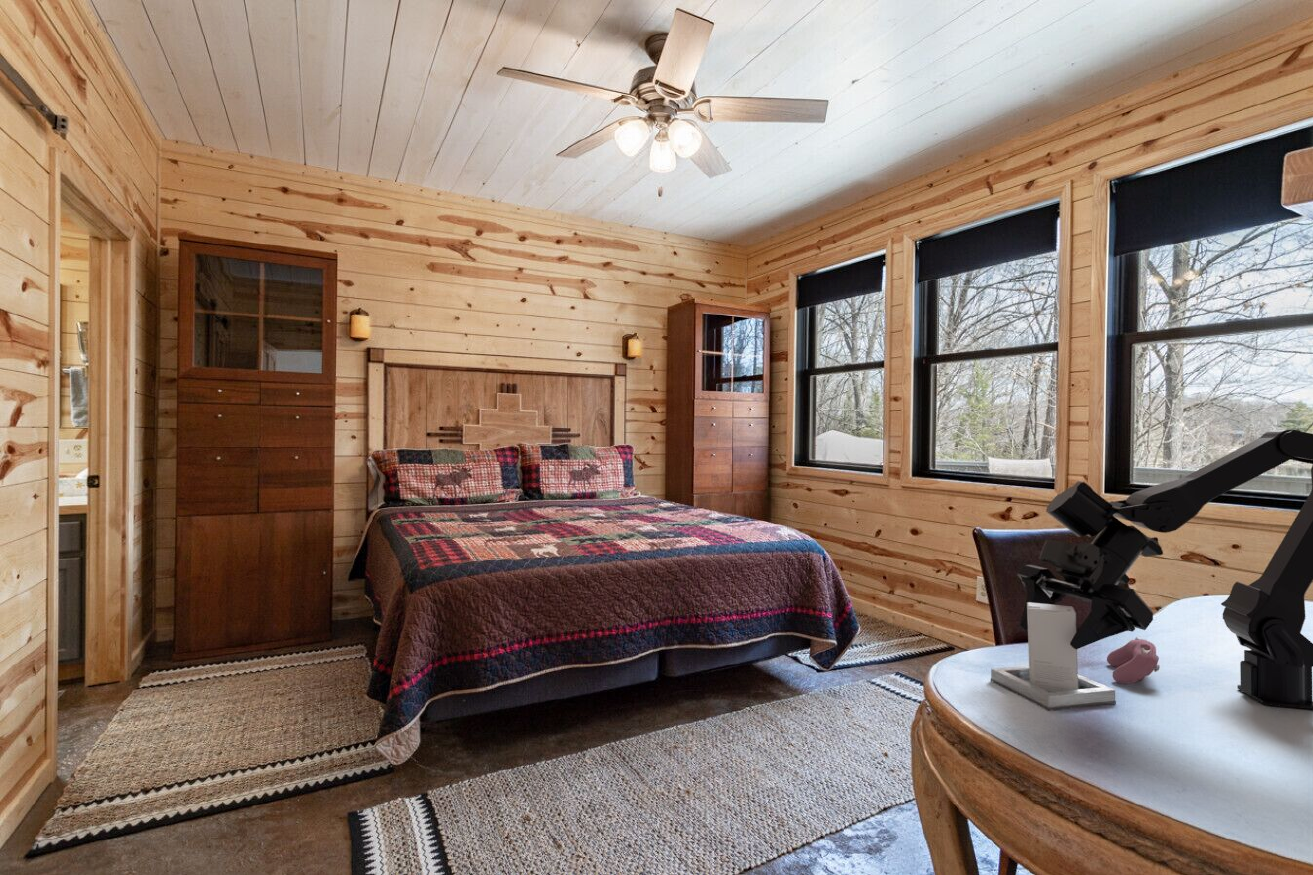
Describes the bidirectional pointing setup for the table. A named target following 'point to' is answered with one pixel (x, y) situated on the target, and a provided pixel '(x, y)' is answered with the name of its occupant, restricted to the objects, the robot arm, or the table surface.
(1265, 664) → the robot arm
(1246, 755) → the table surface
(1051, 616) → the skincare box
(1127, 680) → the video game controller
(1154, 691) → the table surface
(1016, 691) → the collar
